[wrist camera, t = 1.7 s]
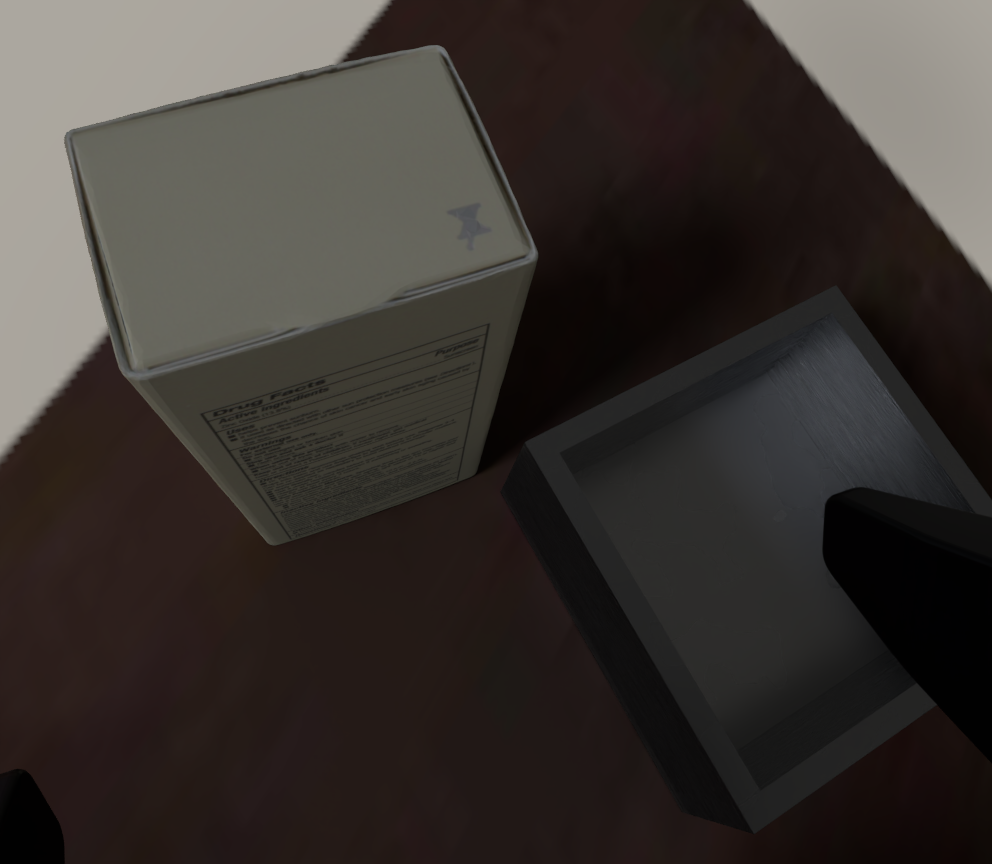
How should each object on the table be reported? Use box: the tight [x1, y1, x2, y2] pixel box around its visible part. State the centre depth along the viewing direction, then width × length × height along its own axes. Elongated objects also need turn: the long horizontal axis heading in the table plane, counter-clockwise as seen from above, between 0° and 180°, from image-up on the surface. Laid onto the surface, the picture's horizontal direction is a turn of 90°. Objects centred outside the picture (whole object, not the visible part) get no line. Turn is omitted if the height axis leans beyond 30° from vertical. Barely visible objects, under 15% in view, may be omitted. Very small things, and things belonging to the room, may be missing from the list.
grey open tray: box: [501, 286, 992, 834], centre depth 22 cm, size 10×10×4 cm
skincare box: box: [64, 45, 538, 545], centre depth 18 cm, size 6×4×12 cm
